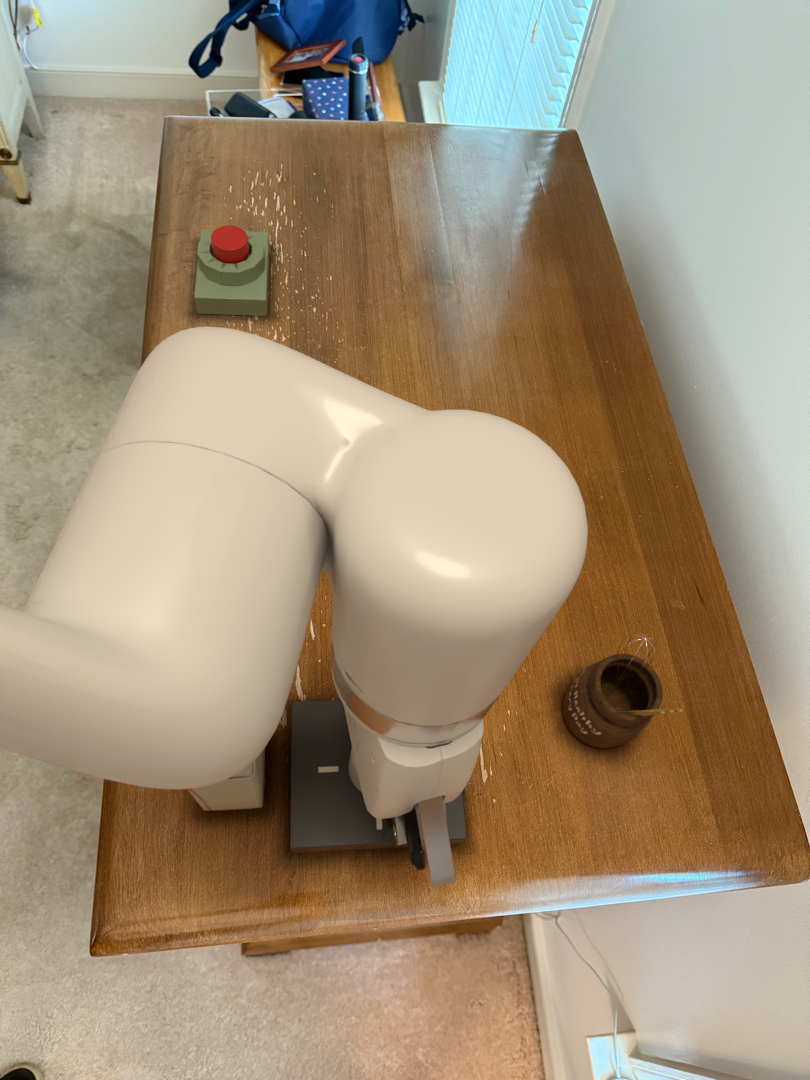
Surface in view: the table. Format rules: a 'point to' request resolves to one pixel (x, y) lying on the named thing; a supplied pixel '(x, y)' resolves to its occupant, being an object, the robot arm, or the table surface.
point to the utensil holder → (613, 699)
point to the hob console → (336, 787)
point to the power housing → (233, 279)
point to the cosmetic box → (235, 789)
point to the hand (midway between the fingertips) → (390, 745)
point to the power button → (230, 244)
